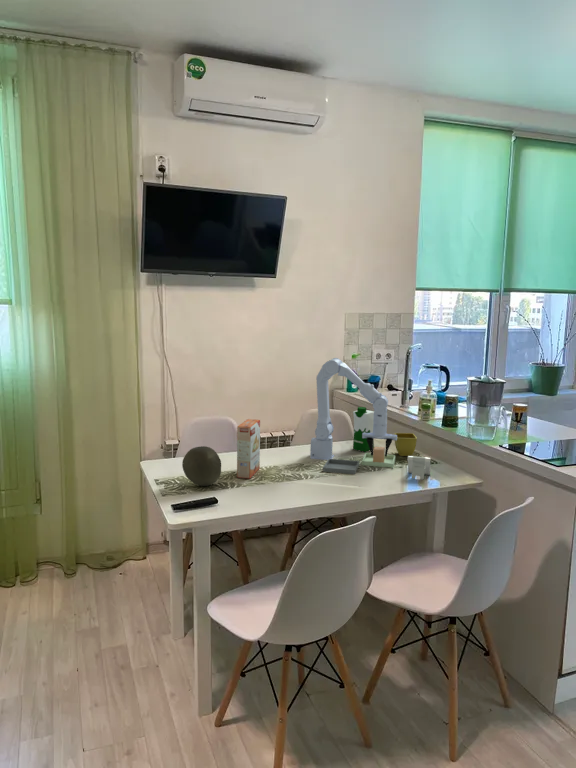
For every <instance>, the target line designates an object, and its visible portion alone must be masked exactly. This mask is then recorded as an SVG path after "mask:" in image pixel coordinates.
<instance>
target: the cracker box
mask: <svg viewBox="0 0 576 768" xmlns="http://www.w3.org/2000/svg"><path fill="white" fill-rule="evenodd" d="M236 429H237V430H236V434H237V435H236V442H237V443H236V455H237V456H236V478H237V479H238V478H239V479H251V478H252V477H253V476H254V475H255V474H256V473H257V472H258V471H259V470H260V468H261V467H260V463H261V460H260V456H261V452H260V451H261V450H260V449H261V448H260V447H261V419H252V418H248V419H245V420H244V421H243V422H241V423H240V424H239V425H237V427H236Z"/></svg>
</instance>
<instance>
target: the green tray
mask: <svg viewBox="0 0 576 768" xmlns="http://www.w3.org/2000/svg"><path fill="white" fill-rule="evenodd" d="M395 463H396V454H387V457H385V458H384V463H382V462H373V456H372V455H371V452H370V453H369V452H364V455H363V458H362V460H361V466H369V467H370V466H371V467H378V468H379V467H381V468H382V467H383V468H391V469H392V470H393V469H394V467H395Z"/></svg>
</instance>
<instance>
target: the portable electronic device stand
mask: <svg viewBox="0 0 576 768" xmlns="http://www.w3.org/2000/svg"><path fill="white" fill-rule="evenodd" d="M407 473H408V474H411V479H413V478H414V479H413V480H416V477H417V476H418V477H419V479H420V480H424V479H425V475H426V476H427V475H429V476H431V457H427V456H426V457H422V456H412V455H411V456H407Z"/></svg>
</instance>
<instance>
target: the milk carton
mask: <svg viewBox="0 0 576 768" xmlns="http://www.w3.org/2000/svg"><path fill="white" fill-rule="evenodd" d="M352 415H353V442H352V450H354V449H355V450H354V451H358V450H360V451H359V452H362V451H364V452H363V453H367V452H369V450H370V448H369V445H368V443H367V438H362V434H363V433H373V417H374V410H368V409H367V407H365V406H358V407H357V410H354V411H352ZM374 447H375V444H374V440H373V449H374ZM366 451H367V452H366Z"/></svg>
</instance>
